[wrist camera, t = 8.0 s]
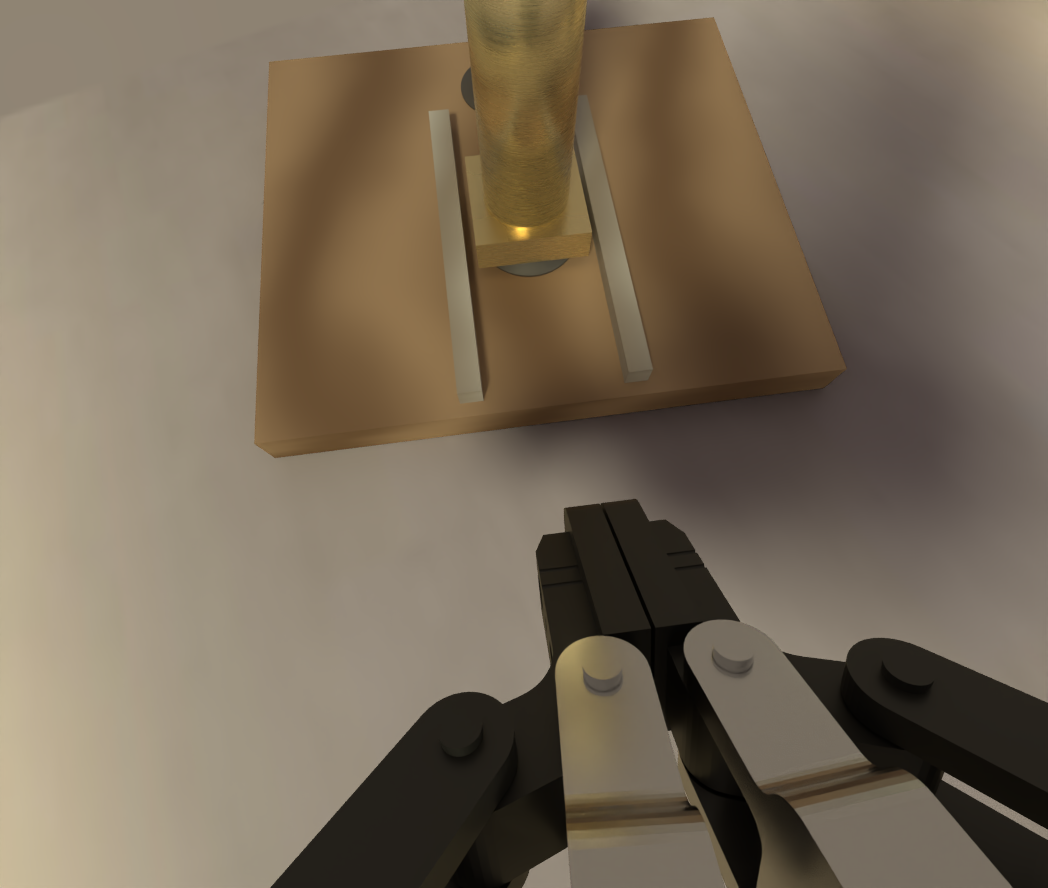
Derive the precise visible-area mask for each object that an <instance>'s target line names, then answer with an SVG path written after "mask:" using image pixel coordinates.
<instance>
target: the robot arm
mask: <svg viewBox="0 0 1048 888" xmlns="http://www.w3.org/2000/svg"><path fill="white" fill-rule="evenodd" d="M564 524H565V532H564V533H556V534H548V535H543V537H542V539H541V541H540V543H539V546H538V548H537V550H536V559H537V570H538V580H539V590H540V600H541V610H542V616H543V622H544V628H545V634H546V640H547V646H548V652H549V659H550V665H551V666H550V668H549V670H548V672H547V674H546V675H545V677H544V678H543V679H542V681H541V682H540V683H539V684H538V685H537V686H536V687H534V688H533V689H531V690H530V691H529V692H527V693H525V694H523V695H521V696H519V697H517V698H515V699H513V700H511V701H508V702H506V703H504V704H501V703H500V702H499V701H498V700H496V699H495V698H493V697H491V696H489V695H486V694H483V693H478V692H463V693H458V694H453V695H451V696H448V697H446V698H443V699H442V700H440V701H438V702H436V703H435V704H434V705H432V706H431V707H430V708H429V709H428V710H427V711H426V712H425V713H424V714H423V715H422V716H421V717H420V718H419V719H418V720H417V722H416V723H415V724H414V725H413V726H412V727H411V728H410V730H409V731H408V732H407V733H406V734H405V735H404V736H403V737H402V739H401V740H400V741H399V742H398V743H397V744H396V745H395V747H394V748H393V749H392V750H391V751H390V752H389V753H388V755H387V756H386V757H385V758H384V759H383V760H382V761H381V762H380V764H379V765H378V766H377V767H376V768H375V769H374V770H373V772H372V773H371V774H370V775H369V776H368V777H367V778H366V780H365V781H364V782H363V783H362V784H361V785H360V786H359V787H358V789H357V790H356V791H355V792H354V793H353V794H352V795H351V797H350V798H349V799H348V800H347V801H346V802H345V803H344V805H343V806H342V807H341V808H340V809H339V810H338V811H337V812H336V814H335V815H334V816H333V817H332V818H331V819H330V820H329V822H328V823H327V824H326V825H325V826H324V827H323V828H322V830H321V831H320V832H319V833H318V834H317V835H316V836H315V837H314V839H313V840H312V841H311V842H310V843H309V844H308V845H307V847H306V848H305V849H304V850H303V851H302V852H301V853H300V855H299V856H298V857H297V858H296V859H295V860H294V861H293V862H292V864H291V865H290V866H289V867H288V868H287V869H286V870H285V872H284V873H283V874H282V875H281V876H280V877H279V878H278V880H277V881H276V882H275V883H274V884H273V885H272V886H271V888H522V887H523V885H524V883H525V881H526V878H527V876H528V873H529V870H530V869H531V868H533V867H535V866H536V865H538V864H540V863H542V862H543V861H545V860H547V859H548V858H550V857H552V856H553V855H555V854H557V853H558V852H560V851H562V850H564V849H565V848H567V847H568V854H569V867H570V880H571V888H725V886H724V882H725V885H726V887H727V888H1048V840H1047V839H1045V838H1043V837H1041V836H1039V835H1038V834H1036V833H1034V832H1032V831H1030V830H1029V829H1027V828H1025V827H1023V826H1022V825H1020V824H1018V823H1016V822H1015V821H1013V820H1011V819H1009V818H1008V817H1006V816H1004V815H1002V814H1001V813H999V812H997V811H995V810H994V809H992V808H990V807H988V806H986V805H985V804H983V803H981V802H979V801H978V800H976V799H974V798H972V797H971V796H969V795H967V794H965V793H964V792H962V791H960V790H958V789H957V788H955V787H953V786H951V785H950V784H948V783H946V782H944V781H942V780H941V779H942V777H943V774H944V772H946V773H947V774H949V775H951V776H953V777H955V778H956V779H958V780H960V781H962V782H964V783H965V784H967V785H969V786H971V787H973V788H974V789H976V790H978V791H980V792H982V793H983V794H985V795H987V796H989V797H991V798H992V799H994V800H996V801H998V802H999V803H1001V804H1003V805H1005V806H1007V807H1008V808H1010V809H1012V810H1014V811H1016V812H1017V813H1019V814H1021V815H1023V816H1025V817H1026V818H1028V819H1030V820H1032V821H1034V822H1035V823H1037V824H1039V825H1041V826H1042V827H1044V828H1046V829H1048V703H1047V702H1044V701H1042V700H1040V699H1038V698H1035V697H1033V696H1031V695H1028V694H1026V693H1024V692H1022V691H1019V690H1017V689H1015V688H1012V687H1010V686H1008V685H1006V684H1003V683H1001V682H999V681H996V680H994V679H992V678H990V677H987V676H985V675H983V674H980V673H978V672H976V671H974V670H971V669H969V668H967V667H964V666H962V665H960V664H958V663H955V662H953V661H951V660H948V659H946V658H944V657H941V656H939V655H937V654H935V653H932V652H930V651H928V650H925V649H923V648H921V647H918V646H916V645H913V644H911V643H907V642H904V641H900V640H895V639H889V638H871V639H866V640H863V641H860V642H858V643H856V644H855V645H853V647H852V648H851V649H850V650H849V652H848V655H847V659H846V662H841V661H833V660H825V659H817V658H809V657H802V656H797V655H792V654H788V653H785V652H782V651H781V650H780V649H779V647H778V646H777V645H776V644H775V643H774V642H773V641H772V639H770V638H769V637H768V636H767V635H766V634H764V633H763V632H761V631H760V630H758V629H756V628H754V627H752V626H750V625H747V624H744V623H741V622H740V620H739V619H738V617H737V616H736V614H735V612H734V611H733V609H732V608H731V606H730V605H729V603H728V601H727V600H726V598H725V597H724V595H723V593H722V592H721V590H720V589H719V587H718V585H717V584H716V582H715V581H714V579H713V577H712V576H711V574H710V573H709V571H708V570H707V568H705V567H704V563H703V562H702V560H701V558H700V557H699V555H698V554H697V553H695V549H694V547H693V546H692V544H691V542H690V541H689V539H688V538H687V536H686V535H685V533H684V532H683V531H681V530H680V529H678V528H677V527H675V526H674V525H672V524H671V523H670V522H668V521H667V520H658V521H650V522H649V520H648V519H647V517H646V515H645V513H644V511H643V509H642V507H641V506H640V504H639V502H638V501H637V500H636V499H632V500H624V501H615V502H607V503H601V504H592V505H584V506H576V507H568V508H564ZM670 730H671V731H672V734H673V737H674V739H675V742H676V745H677V747H678V766H677V763H676V759H675V755H674V752H673V748H672V745H671V741H670V737H669V734H668V731H670ZM684 790H685V791H684ZM685 792H686V794H685ZM686 795H687V797H688V799H689V802H690V803H689V802H688V799H687V797H686ZM690 804H691V805H690ZM722 878H723V879H722ZM723 880H724V882H723Z"/></svg>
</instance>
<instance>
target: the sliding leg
mask: <svg viewBox="0 0 1048 888" xmlns="http://www.w3.org/2000/svg"><path fill="white" fill-rule="evenodd" d="M586 5H587V0H464V6H465V15H466V25H467V35H468V45H469V55H470V64H471V74H472V84H473V94H474V104H475V113H476V123H477V133H478V143H479V153H480V155H476V156H467V157H465V164H466V172H467V180H468V188H469V196H470V204H471V212H472V219H473V227H474V235H475V243H476V251H477V258H478V265H479V268H488V267H497V266H505V265H514V264H522V263H531V262H540V261H548V260H557V259H566V258H574V257H583V256H589V250H590V243H591V237H592V229H591V224H590V220H589V215H588V211H587V206H586V201H585V197H584V192H583V188H582V183H581V179H580V174H579V170H578V165H577V160H576V156H575V151H574V147H573V146H574V135H575V124H576V114H577V103H578V92H579V81H580V70H581V60H582V49H583V38H584V27H585V16H586Z"/></svg>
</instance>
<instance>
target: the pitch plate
mask: <svg viewBox="0 0 1048 888" xmlns="http://www.w3.org/2000/svg"><path fill="white" fill-rule="evenodd" d="M573 147H574V151H575V156H576V160H577V165H578V170H579V174H580V179H581V183H582V188H583V192H584V197H585V201H586V206H587V211H588V215H589V220H590V224H591V229H592V237H591V243H590V250H589V256H583V257H574V258H566V259H557V260H548V261H540V262H531V263H522V264H514V265H505V266H497V267H488V268H479V265H478V258H477V251H476V243H475V235H474V227H473V219H472V212H471V204H470V196H469V188H468V180H467V172H466V164H465V157H467V156H476V155H480V153H479V143H478V133H477V123H476V113H475V104H474V94H473V84H472V74H471V64H470V55H469V45H468V42H463V43H453V44H443V45H433V46H423V47H413V48H403V49H393V50H383V51H373V52H363V53H353V54H343V55H333V56H324V57H314V58H304V59H294V60H284V61H274V62H269V84H268V109H267V135H266V160H265V186H264V211H263V237H262V262H261V288H260V313H259V339H258V364H257V390H256V415H255V441H254V444H256V445H257V446H258V447H260V448H261V449H263V450H264V451H266V452H267V453H269V454H270V455H272V456H273V457H274V458H278V457H286V456H294V455H302V454H310V453H318V452H325V451H333V450H341V449H349V448H357V447H365V446H372V445H380V444H388V443H396V442H404V441H412V440H419V439H427V438H435V437H443V436H451V435H459V434H466V433H474V432H482V431H490V430H498V429H506V428H513V427H521V426H529V425H537V424H545V423H553V422H560V421H568V420H576V419H584V418H592V417H600V416H607V415H615V414H623V413H631V412H639V411H647V410H654V409H662V408H670V407H678V406H686V405H694V404H701V403H709V402H717V401H725V400H733V399H741V398H748V397H756V396H764V395H772V394H780V393H788V392H795V391H803V390H811V389H819V388H824V387H825V386H827V385H828V384H829V383H830V382H831V381H833V380H834V379H835V378H836V377H837V376H839V375H840V374H841V373H842V372H844V371H845V370H846V369H847V368H846V365H845V363H844V360H843V357H842V355H841V352H840V349H839V347H838V344H837V341H836V339H835V336H834V334H833V331H832V328H831V326H830V323H829V320H828V318H827V315H826V312H825V310H824V307H823V304H822V302H821V299H820V297H819V294H818V291H817V289H816V286H815V283H814V281H813V278H812V275H811V273H810V270H809V268H808V265H807V262H806V260H805V257H804V254H803V252H802V249H801V246H800V244H799V241H798V238H797V236H796V233H795V231H794V228H793V225H792V223H791V220H790V217H789V215H788V212H787V209H786V207H785V204H784V202H783V199H782V196H781V194H780V191H779V188H778V186H777V183H776V180H775V178H774V175H773V172H772V170H771V167H770V165H769V162H768V159H767V157H766V154H765V151H764V149H763V146H762V143H761V141H760V138H759V135H758V133H757V130H756V128H755V125H754V122H753V120H752V117H751V114H750V112H749V109H748V106H747V104H746V101H745V99H744V96H743V93H742V91H741V88H740V85H739V83H738V80H737V77H736V75H735V72H734V69H733V67H732V64H731V62H730V59H729V56H728V54H727V51H726V48H725V46H724V43H723V40H722V38H721V35H720V33H719V30H718V27H717V25H716V22H715V19H714V17H713V18H703V19H693V20H683V21H673V22H663V23H653V24H643V25H633V26H623V27H613V28H603V29H593V30H584V38H583V49H582V60H581V70H580V81H579V92H578V103H577V114H576V124H575V135H574V146H573Z"/></svg>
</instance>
